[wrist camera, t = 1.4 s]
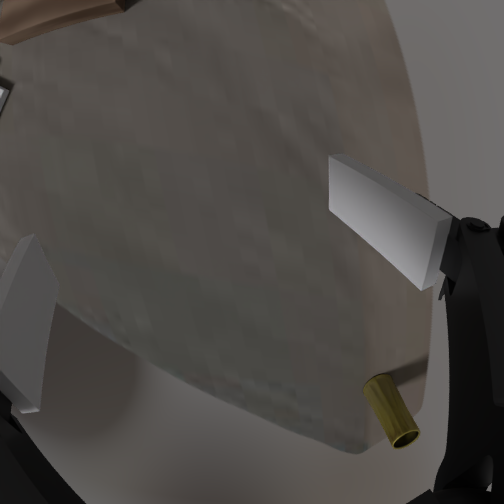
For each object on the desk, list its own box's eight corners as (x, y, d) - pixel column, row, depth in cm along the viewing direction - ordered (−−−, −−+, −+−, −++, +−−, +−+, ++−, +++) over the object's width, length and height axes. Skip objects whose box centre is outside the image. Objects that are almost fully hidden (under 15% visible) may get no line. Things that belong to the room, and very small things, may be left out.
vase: (389, 391, 56) (418, 443, 42) (361, 399, 55) (386, 455, 42) (393, 369, 53) (426, 423, 40) (364, 378, 53) (393, 435, 40)
